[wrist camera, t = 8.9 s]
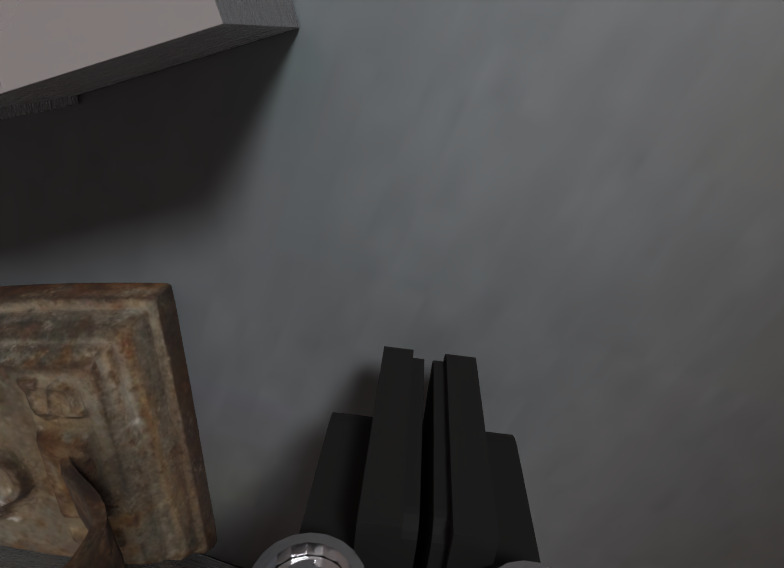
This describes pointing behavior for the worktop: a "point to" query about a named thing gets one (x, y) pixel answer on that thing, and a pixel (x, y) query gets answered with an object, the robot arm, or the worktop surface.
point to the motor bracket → (110, 66)
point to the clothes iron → (99, 427)
